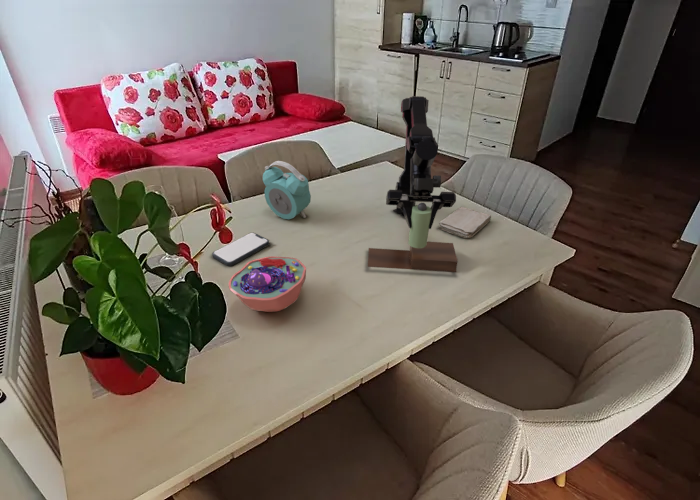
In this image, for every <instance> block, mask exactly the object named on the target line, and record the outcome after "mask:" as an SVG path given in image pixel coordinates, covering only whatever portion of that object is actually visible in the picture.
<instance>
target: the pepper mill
mask: <svg viewBox="0 0 700 500" xmlns="http://www.w3.org/2000/svg"><path fill="white" fill-rule="evenodd" d="M431 211H432V210H431V206H428V205H427V204H426V202H419V204H415V206H414V207H413V208H412V215H411V228H409V233H408V242H407V244H408V245H409V247H410V246H411V247H414V248H424V247H425V246H426V245H427V242H428V239H429V238H428V237H429V232H430V231H429V230H430V229H429V225H430V218H431Z"/></svg>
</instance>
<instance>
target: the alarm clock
mask: <svg viewBox="0 0 700 500" xmlns="http://www.w3.org/2000/svg"><path fill="white" fill-rule="evenodd" d="M275 165H276V166H275ZM277 166H279V167H283V168H285V169H286V170H289V171H290V172H284V171H283V170H282V169H281V168H279V167H277ZM263 170H264V172H263V173H262V182H263V184H264V186H265V188H264V198H265V202H266V205H268V208H270V210H271V211H272V212H273V213H274V214H275V216H277V217H279V218H281V219H282V220H291V219H294V218H295V217H296V216H298V215H299V216H301V218H304V219H305V218H307V215H306V213H305V212H304V210H305V209H306V208H308V207H309V205H310V203H311V198H312V195H311V191H310V184H309V180H308V178H307V177H306V176H305V175H304V174H302V173H300V172H299V171H298V169H296V167H294V166H293V165H292V164H291V163H288V162H286V161H282V160H276V161H274V162H272V163H271V164H269V165H266V166H264V169H263Z"/></svg>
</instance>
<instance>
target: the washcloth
mask: <svg viewBox="0 0 700 500" xmlns="http://www.w3.org/2000/svg"><path fill="white" fill-rule="evenodd" d="M491 218H492V215H490V214H487V213H484V212H480V211H475V210H474V209H472V208H468V207H465V206H459V207H458V208H457V209H455V210H453V212H451V213H450V214H448V215H447V216H446V217H444V219H441V220H440V221H439V222H438V225H439V226H437V227H438V229H439V230H440V231H445V232H447V233H449V234H452V235H455V236H458V237H461V238H464V239H470V238H473V237H474V236H475V235H476V234H477V233H478V232H480V231H481V230H482V229H483V228H484V227H485V226H486V225H487V224H488V223H489V222H490V220H491Z"/></svg>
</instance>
